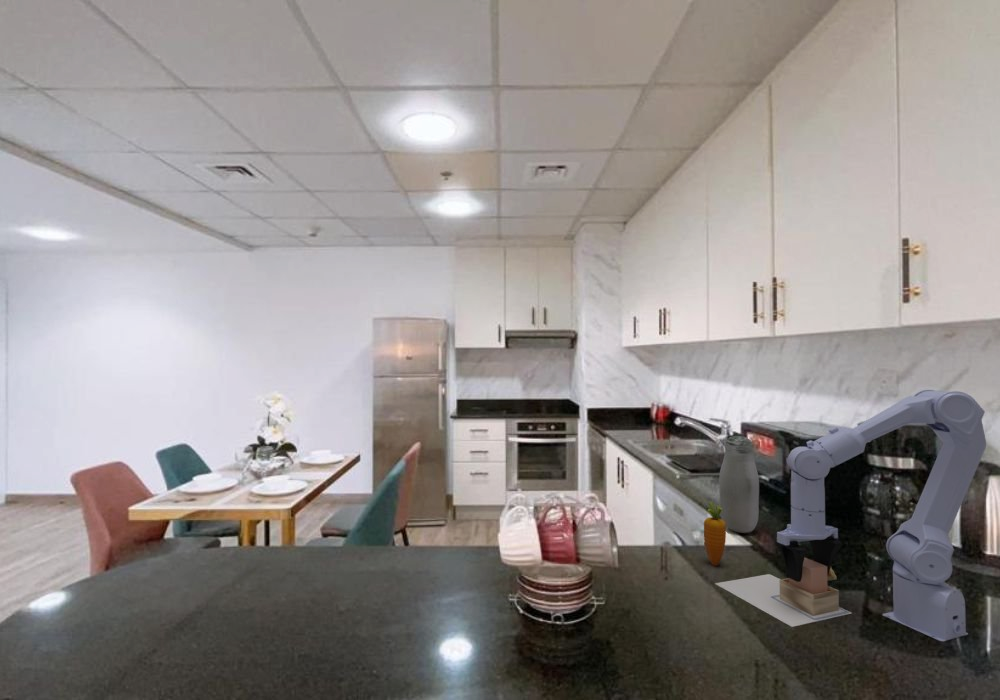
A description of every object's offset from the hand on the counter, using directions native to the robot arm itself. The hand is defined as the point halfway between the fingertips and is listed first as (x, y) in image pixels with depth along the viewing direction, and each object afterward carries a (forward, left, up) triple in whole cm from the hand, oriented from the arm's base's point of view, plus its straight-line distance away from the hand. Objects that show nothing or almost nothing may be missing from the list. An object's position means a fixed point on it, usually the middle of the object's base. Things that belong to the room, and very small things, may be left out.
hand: (808, 577), depth 93 cm
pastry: (+10, -14, -6) cm, 18 cm away
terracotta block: (0, 0, -2) cm, 2 cm away
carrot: (+21, +3, -6) cm, 22 cm away
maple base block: (0, 0, -5) cm, 5 cm away
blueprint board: (+4, +3, -6) cm, 8 cm away
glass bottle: (+39, -24, -6) cm, 46 cm away
